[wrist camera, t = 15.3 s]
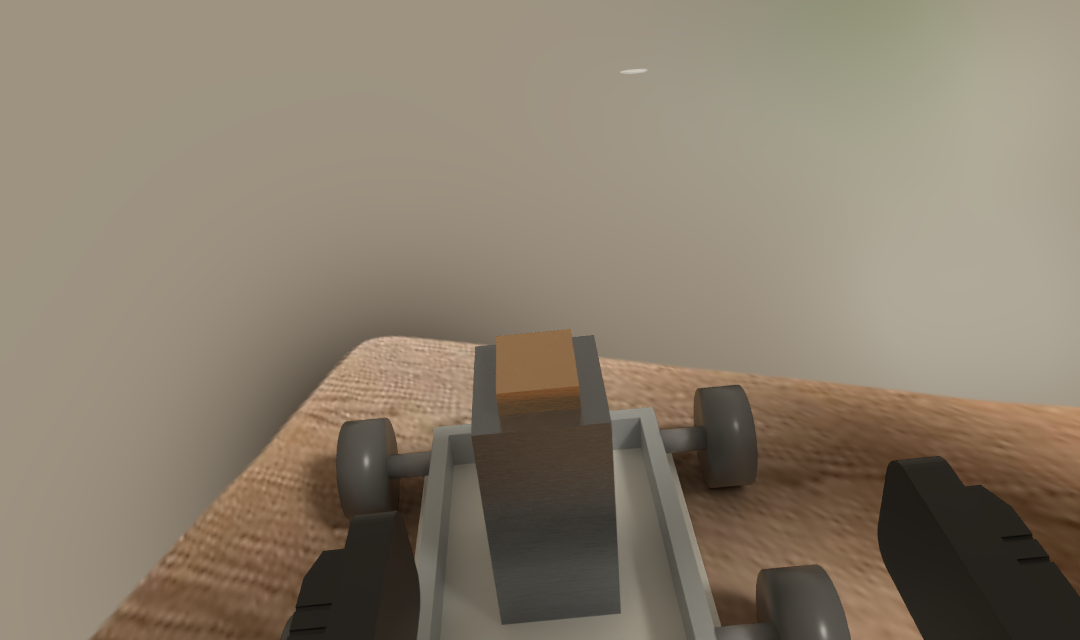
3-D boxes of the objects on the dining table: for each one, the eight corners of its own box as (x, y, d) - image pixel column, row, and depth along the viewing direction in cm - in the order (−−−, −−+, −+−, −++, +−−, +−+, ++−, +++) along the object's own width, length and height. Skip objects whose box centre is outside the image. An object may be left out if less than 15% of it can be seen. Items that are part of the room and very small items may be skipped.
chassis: (729, 441, 43) (732, 365, 41) (846, 737, 29) (862, 647, 26) (367, 475, 44) (348, 401, 41) (298, 787, 29) (262, 702, 26)
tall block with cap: (604, 511, 38) (592, 314, 33) (620, 613, 33) (610, 399, 28) (501, 521, 38) (472, 326, 33) (501, 624, 33) (467, 413, 28)
